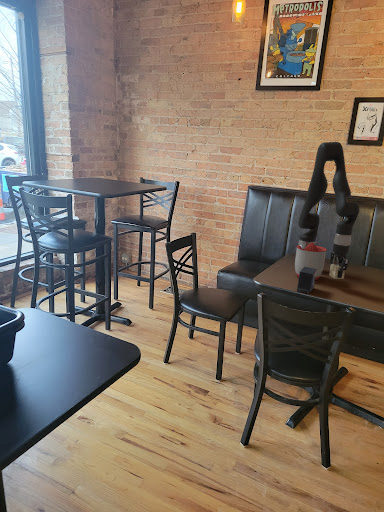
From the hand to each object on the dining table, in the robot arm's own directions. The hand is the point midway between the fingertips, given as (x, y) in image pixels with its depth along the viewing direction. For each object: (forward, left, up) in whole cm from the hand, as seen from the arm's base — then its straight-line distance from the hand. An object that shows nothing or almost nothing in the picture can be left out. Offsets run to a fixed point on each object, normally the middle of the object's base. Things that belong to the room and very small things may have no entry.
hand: (336, 275), depth 179 cm
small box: (+2, -16, -7) cm, 18 cm away
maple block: (0, 0, -1) cm, 1 cm away
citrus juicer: (-18, -7, -7) cm, 20 cm away
